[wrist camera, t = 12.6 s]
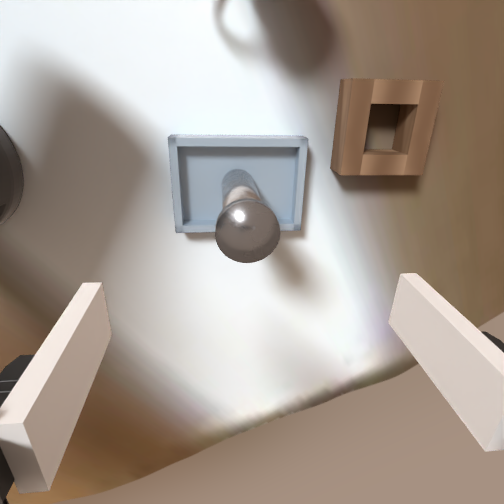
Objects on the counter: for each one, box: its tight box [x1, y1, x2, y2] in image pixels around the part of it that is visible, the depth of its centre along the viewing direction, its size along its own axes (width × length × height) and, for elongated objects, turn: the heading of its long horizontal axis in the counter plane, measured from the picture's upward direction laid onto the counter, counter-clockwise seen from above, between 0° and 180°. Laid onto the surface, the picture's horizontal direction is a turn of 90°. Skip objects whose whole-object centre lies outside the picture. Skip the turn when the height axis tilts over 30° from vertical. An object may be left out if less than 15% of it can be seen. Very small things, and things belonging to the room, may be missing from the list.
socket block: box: [330, 79, 444, 175], centre depth 36 cm, size 9×9×4 cm
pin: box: [215, 169, 280, 263], centre depth 31 cm, size 5×5×14 cm
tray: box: [168, 135, 308, 233], centre depth 37 cm, size 14×10×2 cm
